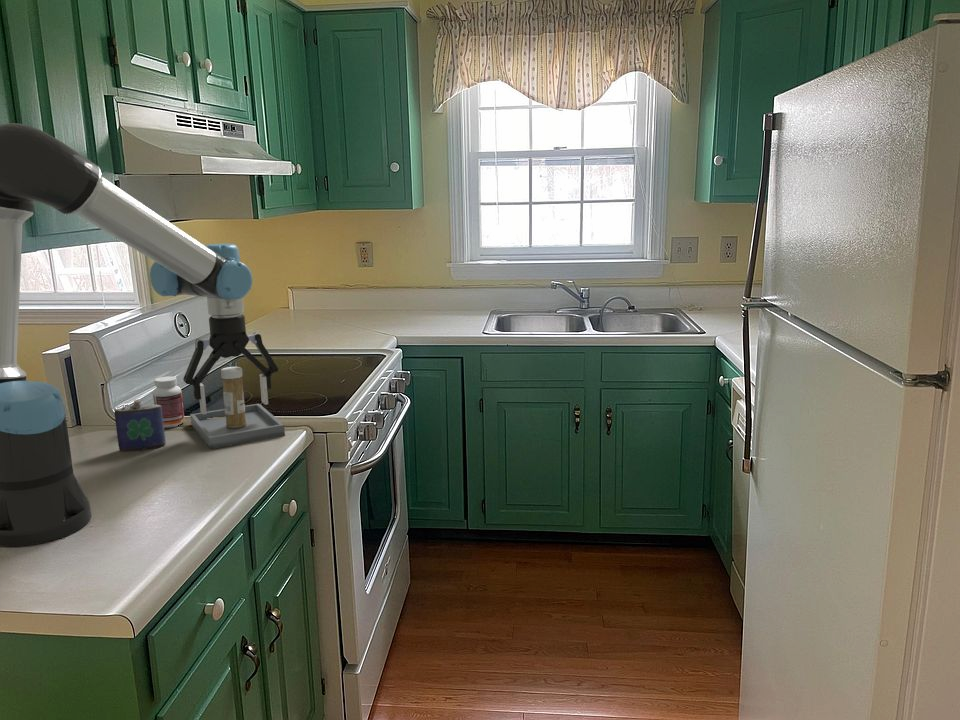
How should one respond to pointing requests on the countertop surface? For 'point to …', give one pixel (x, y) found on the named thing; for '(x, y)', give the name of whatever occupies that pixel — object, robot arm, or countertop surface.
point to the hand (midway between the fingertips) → (234, 408)
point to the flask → (139, 427)
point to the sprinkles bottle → (233, 397)
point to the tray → (222, 436)
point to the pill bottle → (169, 400)
